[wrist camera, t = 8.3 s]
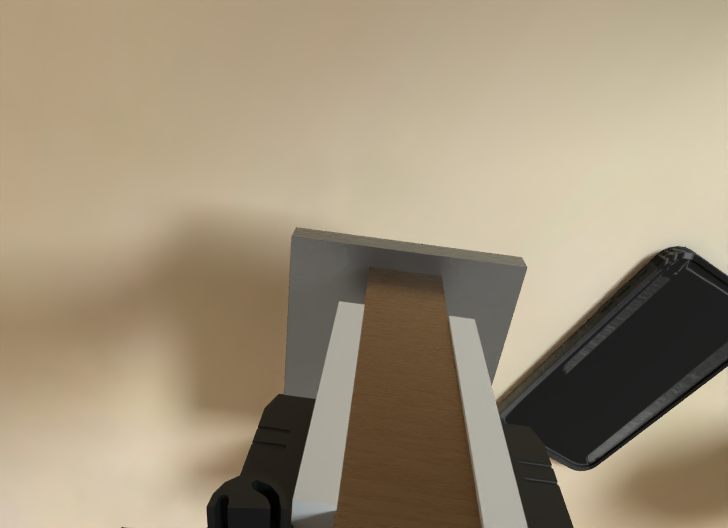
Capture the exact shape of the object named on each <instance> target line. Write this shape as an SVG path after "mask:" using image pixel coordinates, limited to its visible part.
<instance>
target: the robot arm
mask: <svg viewBox="0 0 728 528" xmlns="http://www.w3.org/2000/svg"><path fill="white" fill-rule="evenodd" d="M364 306H365V305H364V304H356V303H349V302H341V301H339V304H338V308H337V313H336V317H335V321H334V325H333V330H332V334H331V338H330V342H329V347H328V351H327V355H326V359H325V364H324V368H323V372H322V377H321V381H320V385H319V389H318V394H317V398H316V399H312V398H305V397H297V396H290V395H283V394H278V395H277V396H276V397H275V398H274V399H273V400H272V401H271V402H270V403H269V404H268V405H267V406H266V407H265V409H264V412H263V414H262V417H261V420H260V423H259V425H258V430H257V431H256V434H255V436H254V439H253V443H252V444H251V447H250V450H249V453H248V455H247V458H246V461H245V464H244V466H243V469H242V472H241V474H240V476H238V477H235V478H233V479H231V480H229V481H227V482H225V483H224V484H223V485H222V486H221V487H220V488H219V489H217V490H216V491H215V492H214V493H213V495H212V497H211V499H210V501H209V503H208V505H207V523H208V527H207V528H333V524H334V517H335V510H337V503H338V496H339V489H340V481H341V474H342V467H343V459H344V452H345V445H346V437H347V430H348V423H349V415H350V408H351V401H352V394H353V386H354V379H355V372H356V364H357V357H358V350H359V342H360V335H361V328H362V320H363V313H364ZM448 321H449V328H450V334H451V340H452V346H453V352H454V359H455V365H456V371H457V377H458V383H459V390H460V396H461V402H462V408H463V414H464V421H465V427H466V433H467V439H468V445H469V452H470V458H471V464H472V470H473V476H474V483H475V489H476V495H477V501H478V507H479V514H480V520H481V526H482V528H573V525H572V522H571V519H570V516H569V513H568V510H567V508H566V505H565V502H564V499H563V496H562V493H561V490H560V487H559V485H557V479H556V476H555V473H554V470H553V469H552V468H551V465H552V464H551V461H550V459H549V456H548V453H547V450H546V447H545V445H544V443H543V442H542V441H541V440H540V438H539V437H538V436H537V435H536V433H535V432H534V431H533V430H532V428H531V427H528V426H520V425H513V424H506V423H501V421H500V417H499V413H498V409H497V405H496V401H495V397H494V393H493V389H492V385H491V381H490V377H489V374H488V370H487V366H486V362H485V358H484V354H483V350H482V346H481V342H480V338H479V334H478V330H477V326H476V323H475V319H470V318H462V317H455V316H449V318H448ZM122 528H124V527H122Z"/></svg>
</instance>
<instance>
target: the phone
mask: <svg viewBox="0 0 728 528" xmlns="http://www.w3.org/2000/svg"><path fill="white" fill-rule="evenodd" d="M727 366H728V276H727V275H726V274H725V273H723V272H722V271H720V270H719V269H717V268H716V267H715V266H713V265H712V264H710V263H709V262H708V261H706V260H705V259H703V258H702V257H700V256H699V255H698V254H696V253H695V252H693V251H692V250H690V249H688V248H686V247H680V246H676V247H670V248H668V249H665V250H663V251H662V252H660V253H659V254H658V255H656V256H655V257H654V258H653V259H652V260H651V261H650V262H649V263H648V264H647V265H646V266H645V267H644V268H643V269H642V270H640V271H639V272H638V273H637V274H636V275H635V276H634V277H633V278H632V279H631V280H630V281H629V282H628V283H627V284H626V285H625V286H624V287H623V288H622V289H620V290H619V291H618V292H617V293H616V294H615V295H614V296H613V297H612V298H611V299H610V300H609V301H608V302H607V303H606V304H605V305H604V306H603V307H601V308H600V309H599V310H598V311H597V312H596V313H595V314H594V315H593V316H592V317H591V318H590V319H589V320H588V321H587V322H586V323H585V324H584V325H583V326H582V327H580V328H579V329H578V330H577V331H576V332H575V333H574V334H573V335H572V336H571V337H570V338H569V339H568V340H567V341H566V342H565V343H564V344H563V345H562V346H560V347H559V348H558V349H557V350H556V351H555V352H554V353H553V354H552V355H551V356H550V357H549V358H548V359H547V360H546V361H545V362H544V363H543V364H542V365H540V366H539V367H538V368H537V369H536V370H535V371H534V372H533V373H532V374H531V375H530V376H529V377H528V378H527V379H526V380H525V381H524V382H523V383H522V384H520V385H519V386H518V387H517V388H516V389H515V390H514V391H513V392H512V393H511V394H510V395H509V396H508V397H507V398H506V399H505V400H504V401H503V402H502V403H500V405H499V406H498V407H497V409H498V413H499V417H500V421H501V423H506V424H513V425H520V426H528V427H531V428H532V430H533V431H534V432H535V433H536V435H537V436H538V437H539V438H540V440H541V441H542V442H543V443H544V445H545V447H546V450H547V453H548V456H549V457H551V458H552V459H554V460H556V461H558V462H560V463H561V464H563V465H565V466H567V467H568V468H570V469H573V470H576V471H587V470H590V469H593V468H594V467H596V466H598V465H599V464H600V463H601V462H603V461H604V460H605V459H607V458H608V457H609V456H611V455H612V454H613V453H615V452H616V451H617V450H618V449H620V448H621V447H622V446H624V445H625V444H626V443H628V442H629V441H630V440H632V439H633V438H634V437H636V436H637V435H638V434H639V433H641V432H642V431H643V430H645V429H646V428H647V427H649V426H650V425H651V424H653V423H654V422H655V421H657V420H658V419H659V418H660V417H662V416H663V415H664V414H666V413H667V412H668V411H670V410H671V409H672V408H674V407H675V406H676V405H678V404H679V403H680V402H681V401H683V400H684V399H685V398H687V397H688V396H689V395H691V394H692V393H693V392H695V391H696V390H697V389H699V388H700V387H701V386H702V385H704V384H705V383H706V382H708V381H709V380H710V379H712V378H713V377H714V376H716V375H717V374H718V373H720V372H721V371H722V370H723V369H725V368H726V367H727Z"/></svg>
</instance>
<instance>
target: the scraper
mask: <svg viewBox="0 0 728 528" xmlns="http://www.w3.org/2000/svg"><path fill="white" fill-rule="evenodd" d="M526 270H527V266H526V264H525V262H524V260H523V259H522V257H515V256H508V255H500V254H493V253H485V252H478V251H470V250H463V249H455V248H448V247H440V246H433V245H425V244H417V243H410V242H402V241H395V240H387V239H380V238H372V237H365V236H357V235H350V234H342V233H335V232H327V231H320V230H312V229H305V228H297V227H296V229H295V231H294V233H293V235H292V238H291V260H290V281H289V302H288V323H287V345H286V366H285V387H284V395H290V396H297V397H305V398H312V399H316V398H317V394H318V389H319V385H320V381H321V377H322V372H323V368H324V364H325V359H326V355H327V351H328V347H329V342H330V338H331V334H332V330H333V325H334V321H335V317H336V313H337V308H338V304H339V301H341V302H349V303H356V304H364V305H365V306H364V313H363V320H362V328H361V335H360V342H359V350H358V357H357V364H356V372H355V379H354V386H353V394H352V401H351V408H350V415H349V423H348V430H347V437H346V445H345V452H344V459H343V467H342V474H341V481H340V489H339V496H338V503H337V510H335V517H334V524H333V528H482V526H481V520H480V514H479V507H478V501H477V495H476V489H475V483H474V476H473V470H472V464H471V458H470V452H469V445H468V439H467V433H466V427H465V421H464V414H463V408H462V402H461V396H460V390H459V383H458V377H457V371H456V365H455V359H454V352H453V346H452V340H451V334H450V328H449V321H448V318H449V316H455V317H462V318H470V319H475V323H476V326H477V330H478V334H479V338H480V342H481V346H482V350H483V354H484V358H485V362H486V366H487V370H488V374H489V377H490V381H491V385H492V383H493V380H494V376H495V373H496V370H497V366H498V363H499V360H500V356H501V353H502V350H503V347H504V343H505V340H506V337H507V333H508V330H509V327H510V323H511V320H512V317H513V313H514V310H515V307H516V303H517V300H518V297H519V294H520V290H521V287H522V284H523V280H524V277H525V274H526Z"/></svg>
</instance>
